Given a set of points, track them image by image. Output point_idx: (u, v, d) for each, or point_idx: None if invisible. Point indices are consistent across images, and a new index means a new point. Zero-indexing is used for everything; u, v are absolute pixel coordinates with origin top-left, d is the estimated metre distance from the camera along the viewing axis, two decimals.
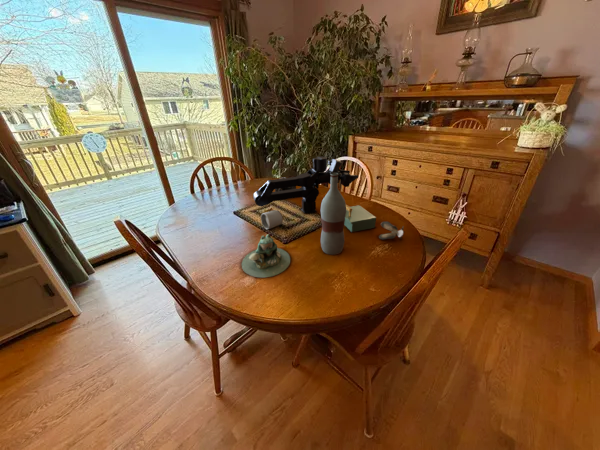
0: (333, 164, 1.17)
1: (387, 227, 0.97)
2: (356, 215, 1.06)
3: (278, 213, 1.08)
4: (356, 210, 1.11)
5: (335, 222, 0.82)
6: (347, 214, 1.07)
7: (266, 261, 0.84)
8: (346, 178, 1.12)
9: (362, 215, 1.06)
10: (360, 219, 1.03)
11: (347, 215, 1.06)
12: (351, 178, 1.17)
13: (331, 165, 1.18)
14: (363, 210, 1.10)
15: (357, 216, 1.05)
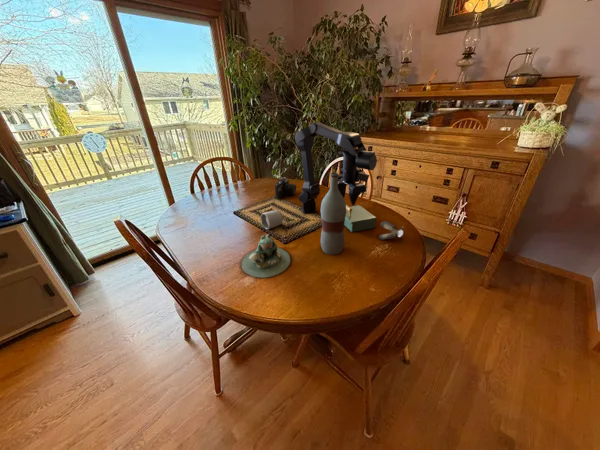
0: (363, 173, 1.00)
1: (387, 227, 0.97)
2: (356, 215, 1.06)
3: (278, 213, 1.08)
4: (356, 210, 1.11)
5: (335, 222, 0.82)
6: (347, 214, 1.07)
7: (266, 261, 0.84)
8: (363, 188, 0.92)
9: (362, 215, 1.06)
10: (360, 219, 1.03)
11: (347, 215, 1.06)
12: (354, 196, 0.97)
13: (359, 171, 1.01)
14: (363, 210, 1.10)
15: (357, 216, 1.05)
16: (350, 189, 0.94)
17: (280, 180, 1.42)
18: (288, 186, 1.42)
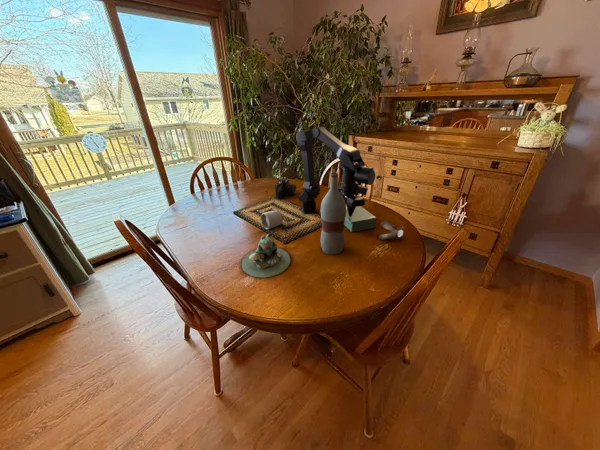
0: (362, 186, 1.02)
1: (387, 227, 0.97)
2: (356, 215, 1.06)
3: (278, 213, 1.08)
4: (356, 210, 1.11)
5: (335, 222, 0.82)
6: (347, 214, 1.07)
7: (266, 261, 0.84)
8: (362, 201, 0.95)
9: (362, 215, 1.06)
10: (360, 219, 1.03)
11: (347, 215, 1.06)
12: (351, 208, 1.01)
13: (358, 185, 1.03)
14: (363, 210, 1.10)
15: (357, 216, 1.05)
16: (349, 203, 0.96)
17: (280, 180, 1.42)
18: (288, 186, 1.42)
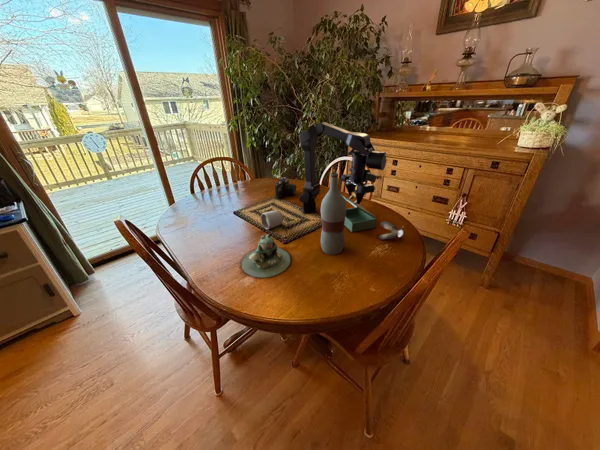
0: (371, 173, 1.01)
1: (387, 227, 0.97)
2: (360, 207, 1.05)
3: (278, 213, 1.08)
4: (358, 205, 1.10)
5: (335, 222, 0.82)
6: (352, 202, 1.05)
7: (266, 261, 0.84)
8: (371, 188, 0.94)
9: (364, 210, 1.05)
10: (364, 210, 1.01)
11: (352, 202, 1.04)
12: (360, 195, 1.00)
13: (367, 172, 1.02)
14: None
15: (361, 207, 1.04)
16: (358, 189, 0.95)
17: (280, 180, 1.42)
18: (288, 186, 1.42)
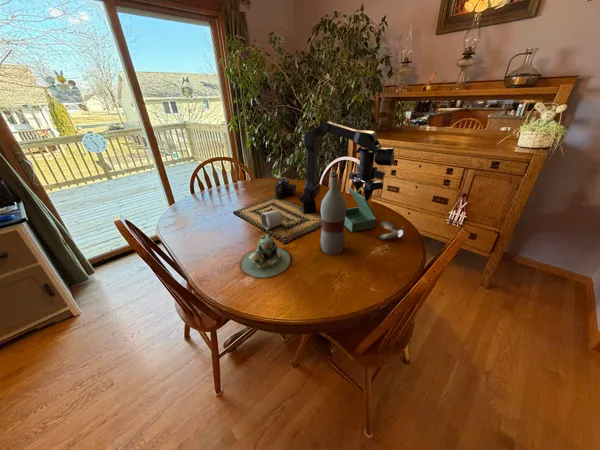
0: (379, 170, 1.01)
1: (387, 227, 0.97)
2: None
3: (278, 213, 1.08)
4: None
5: (335, 222, 0.82)
6: None
7: (266, 261, 0.84)
8: (380, 185, 0.94)
9: None
10: None
11: None
12: (368, 192, 1.00)
13: None
14: None
15: None
16: (367, 186, 0.95)
17: (280, 180, 1.42)
18: (288, 186, 1.42)
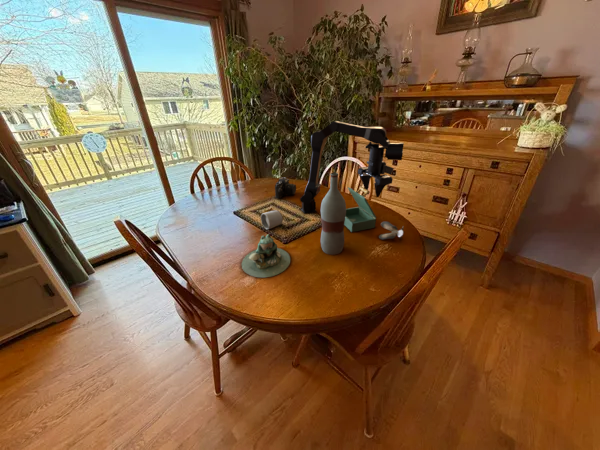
0: None
1: (387, 227, 0.97)
2: None
3: (278, 213, 1.08)
4: None
5: (335, 222, 0.82)
6: None
7: (266, 261, 0.84)
8: (389, 179, 0.96)
9: None
10: None
11: None
12: (380, 188, 1.01)
13: None
14: None
15: None
16: (377, 181, 0.97)
17: (280, 180, 1.42)
18: (288, 186, 1.42)
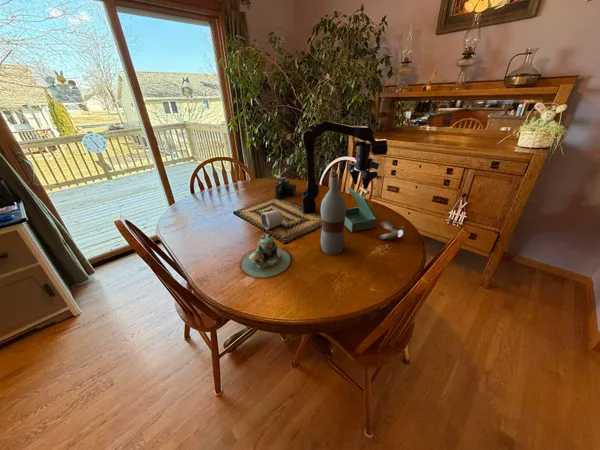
0: None
1: (387, 227, 0.97)
2: None
3: (278, 213, 1.08)
4: None
5: (335, 222, 0.82)
6: None
7: (266, 261, 0.84)
8: (375, 173, 1.06)
9: None
10: None
11: None
12: (367, 182, 1.11)
13: (371, 160, 1.15)
14: None
15: None
16: (363, 175, 1.07)
17: (280, 180, 1.42)
18: (288, 186, 1.42)
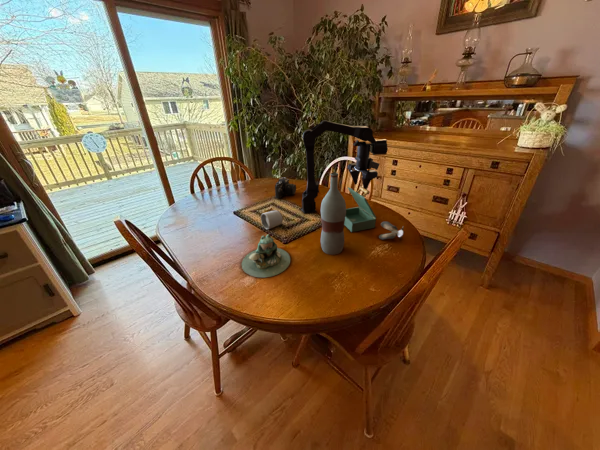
0: None
1: (387, 227, 0.97)
2: None
3: (278, 213, 1.08)
4: None
5: (335, 222, 0.82)
6: None
7: (266, 261, 0.84)
8: (375, 173, 1.06)
9: None
10: None
11: None
12: (366, 182, 1.11)
13: (371, 160, 1.15)
14: None
15: None
16: (363, 175, 1.07)
17: (280, 180, 1.42)
18: (288, 186, 1.42)
